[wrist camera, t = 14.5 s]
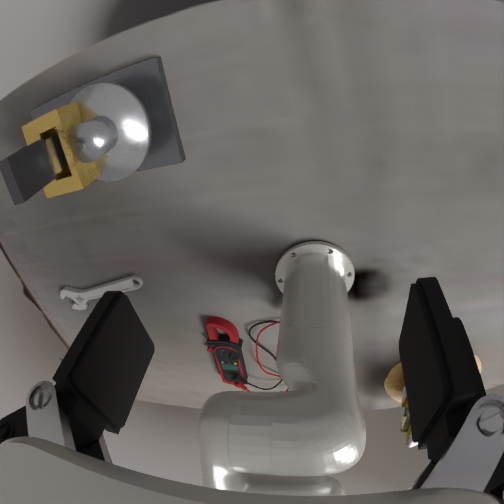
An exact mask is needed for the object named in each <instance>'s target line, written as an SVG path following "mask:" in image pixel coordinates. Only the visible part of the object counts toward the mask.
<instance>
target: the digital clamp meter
mask: <svg viewBox="0 0 504 504" xmlns="http://www.w3.org/2000/svg"><path fill="white" fill-rule="evenodd" d="M268 322H274V323H272V324H270V325H268V326H266V327H265V328H263V329H262V330H261V331H260V332H259V334H258V336H257V339H256V341H255V340H254V339H253V338H252V337H251V335H250V330H251V329H252V328H253V327H254V326H256V325H259V324H262V323H268ZM277 323H280V321H278V322H277V321H265V322H260V323H257V324H255V325H253V326H252V327H251V328H250V329H249V336H250V338H251V339H252V340H253V341H254V342H255V343H256V356H257V361H258V364H259V366H260V367H261V369H262V370H263V371H264V372H265V373H267V374H270V375H274V376H278V377H281V376H279V375H275V374H271V373H268V372H266V371H265V370H264V369H263V368H262V366H261V365H260V362H259V359H258V351H257V345H258V346H260V347H261V348H262V349H264V350H265V351H267V350H266V349H265V348H263V347H262V346H261V345H259V344H258V337H259V335H260V333H261V332H262V331H263V330H264V329H266V328H267V327H269V326H272V325H274V324H277ZM206 328H207V331H208V335H209V337H208V340H207V342H208V344H209V346H208V350H207V351H209V352H211V353H214V355H215V358H216V362H217V365H218V368H219V371H220V374H221V377H222V380H223V382H225V383H228V384H233V385H235V386H236V387H239V388H242V389H243V390H245V391H246V390H247V391H249V390H248V389H247V387H245V386H244V384H249V385H252V384H250V383H247V382H248V381H247V378H248V376H247V372H246V367H245V363H244V358H243V354H242V350H241V347H242V343H243V340H242V339H240V338H239V334H238V331H237V329H236V327H235V326H234V325H233V324H232V323H231V322H229V321H227V320H225V319H223V318H220V317H214V316H211V317H209V318H208V321H207V324H206ZM216 328H218V329H221V330H223V331H225V332H226V333H227V334H228V335H227V334H219V333H218V332H217V329H216ZM267 352H268V353H269V354H271V353H270V352H269V351H267ZM271 355H272V356H273V357H274V358H275V360H276V357H275V356H274V355H273V354H271ZM281 381H282V379H281ZM281 381H280V382H279V383H281ZM279 383H278V384H279ZM278 384H277V385H278ZM277 385H276V386H277ZM252 386H254V385H252ZM276 386H274V387H272V388H269V389H273V388H275V387H276ZM254 387H256V388H259V387H257V386H254ZM259 389H263V390H269V389H264V388H259ZM288 389H289V388H288ZM288 389H287V390H286V391H288ZM249 392H251V391H249Z"/></svg>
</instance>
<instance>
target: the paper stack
mask: <svg viewBox="0 0 504 504" xmlns="http://www.w3.org/2000/svg"><path fill="white" fill-rule="evenodd" d="M474 356H475V359H476V362H477V366H478V369H479V372H480V373H481V363H480V360H479V359H478V357H477V356H476V355H474ZM384 388H385V390H386V392H387V394H388V395H389V396H390V397H391V398H393V399H395V400H396V401H399V402H402V406H403V407H405V409H404V412H403V414H402V418H401V432H407V434H406V445H408V447H409V448H411V447H413V446H415V445H418V442H416V443H414V442H413V440H412V433H411V425H410V416H409V409H408V401H407V394H406V388H405V381H404V375H403V370H402V364H401V362H400V363H398V364H397V365H396V366H394V367H393V368H392V369H391V371H390V372H389V374H388V376H387V378H386V379H385V381H384Z"/></svg>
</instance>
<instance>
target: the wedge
mask: <svg viewBox="0 0 504 504" xmlns="http://www.w3.org/2000/svg"><path fill="white" fill-rule="evenodd" d="M68 166H69V165H68V162H67V159H66V156H65V154H64V151H63V148H62V145H61V142H60V139H59V135H58V133H56V134H54V135H53V136H51V137H49V138H47V139H45V140H43V138H42V139H39V140H37V141H35V142H33V143H31V144H29V145H27V146H26V147H24V148H22V149H20V150H19V151H17V152H15V153H13V154H12V155H10V156H8V157H7V158H5V159H3V160H2V161H0V170H1V172H2V175H3V177H4V180H5V183H6V185H7V188H8V190H9V192H10V195H11V197H12V200H13V202H14V204H15V205H17V204H20V203H24V202H25V201H27V200H28V199H29V198H30V197H32V196H33V195H34V194H36V193H37V192H38V191H40V190H41V189H42V188H44V187H45V186H46V185H48V184H49V183H50V182H52V181H53V180H54V179H56V178H57V177H56V174H58V173H59V172H60V171H62V170H63V169H65V168H66V167H68Z"/></svg>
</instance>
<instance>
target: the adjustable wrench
mask: <svg viewBox="0 0 504 504" xmlns="http://www.w3.org/2000/svg"><path fill="white" fill-rule="evenodd" d="M133 279H134V280H137V281H138V282H139V284H136V283H134V282H133ZM142 284H143V280H142V279H141V278H140V277H139V276H137V275H132V276H129V277H125V278H122V279H119V280H115V281H112V282H109V283H105V284H102V285H99V286H95V287H92V288H89V289H85V290H81V289H76V288H72V287H68V286H66V287H64V288H63V289H62V291H61V292H60V296H61V298H62V300H63V299H64V298H65V296H67V297H70V298H71V299H72V300H74V301H75V303H74V305H73V306H72V308H73V309H76V310H82V309H85V310H86V308H87V307H88V304H87V301H88V300H91V299H96V298H100V297H102V296H103V294H104V293H105V292H106V291H122V292H127V291H132V290H136V289H140V288H141V286H142Z"/></svg>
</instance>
